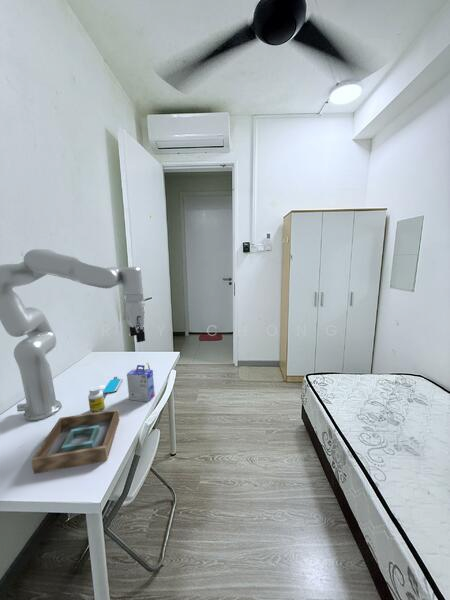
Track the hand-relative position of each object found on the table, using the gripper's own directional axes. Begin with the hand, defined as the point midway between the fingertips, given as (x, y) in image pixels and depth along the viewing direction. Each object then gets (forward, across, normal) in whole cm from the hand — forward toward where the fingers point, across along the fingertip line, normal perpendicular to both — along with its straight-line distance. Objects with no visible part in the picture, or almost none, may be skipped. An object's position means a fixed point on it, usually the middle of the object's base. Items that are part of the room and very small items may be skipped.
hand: (137, 338), depth 107 cm
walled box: (+28, +14, -25) cm, 40 cm away
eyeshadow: (+28, -26, +9) cm, 39 cm away
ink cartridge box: (+28, -1, 0) cm, 28 cm away
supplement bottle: (+28, -3, -18) cm, 33 cm away
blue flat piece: (+28, -21, -10) cm, 37 cm away
